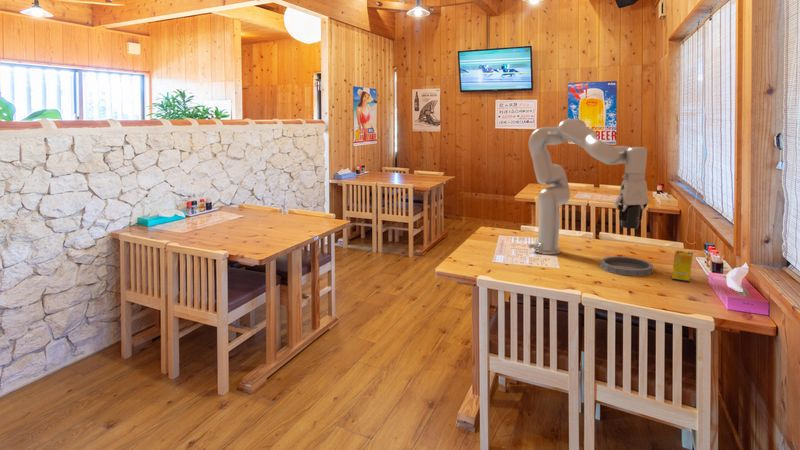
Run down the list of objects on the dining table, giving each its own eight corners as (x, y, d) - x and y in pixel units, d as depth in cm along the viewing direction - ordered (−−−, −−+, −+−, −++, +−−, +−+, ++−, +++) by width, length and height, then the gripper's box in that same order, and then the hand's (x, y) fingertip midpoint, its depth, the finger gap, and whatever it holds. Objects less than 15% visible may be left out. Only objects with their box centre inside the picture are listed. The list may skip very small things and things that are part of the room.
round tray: (619, 277, 186) (620, 271, 186) (591, 263, 206) (591, 258, 205) (663, 274, 190) (664, 268, 189) (631, 260, 209) (631, 255, 208)
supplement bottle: (640, 229, 190) (643, 200, 187) (622, 228, 191) (625, 200, 189) (635, 225, 197) (638, 197, 194) (618, 225, 198) (621, 197, 195)
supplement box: (672, 276, 187) (675, 250, 185) (690, 278, 184) (693, 252, 182) (671, 280, 183) (674, 253, 180) (689, 282, 179) (692, 255, 177)
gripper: (621, 179, 184) (617, 222, 188) (659, 177, 187) (654, 220, 191) (609, 177, 192) (606, 219, 195) (646, 175, 195) (642, 217, 198)
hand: (630, 219), depth 193 cm, fingers closed on supplement bottle, 6 cm apart
